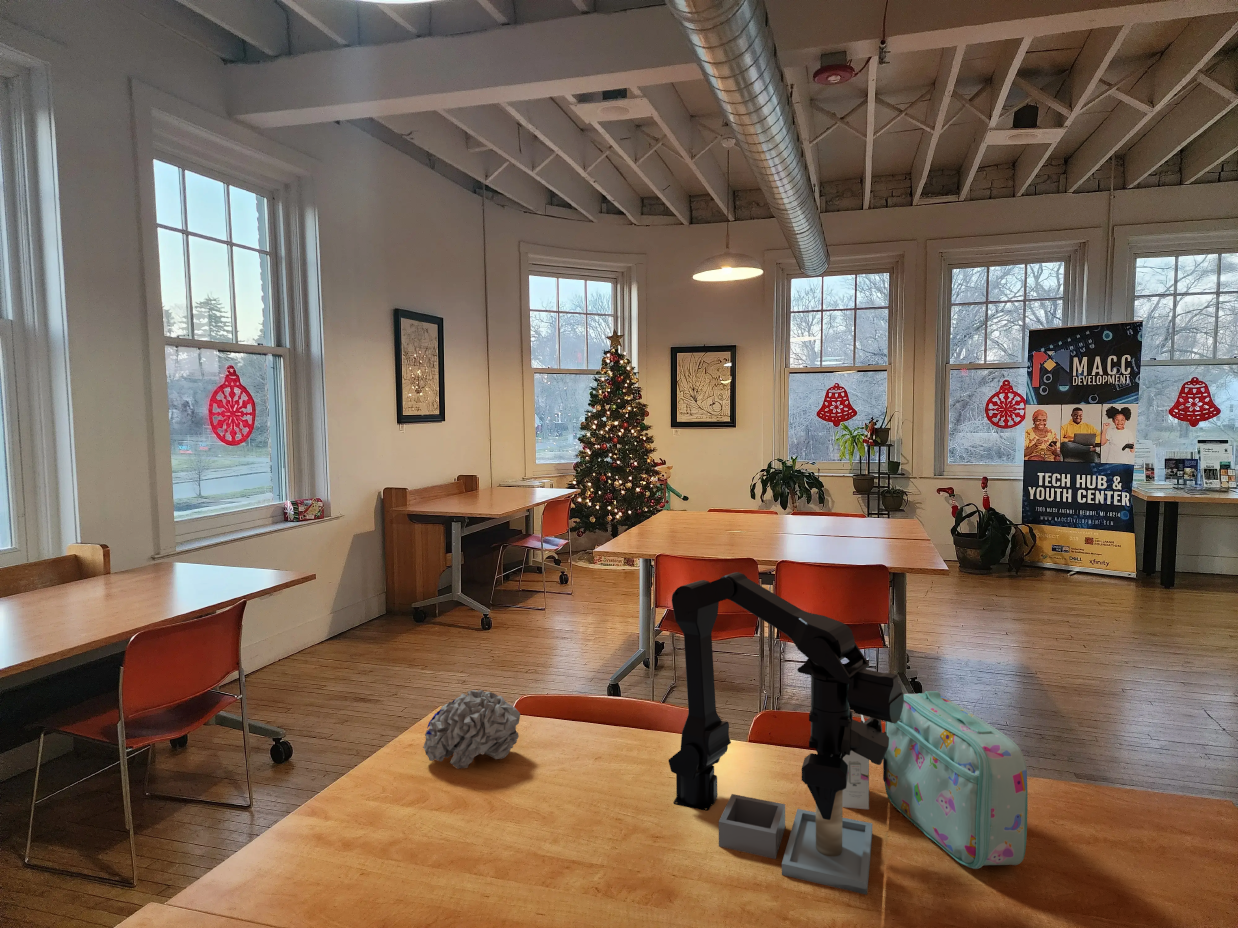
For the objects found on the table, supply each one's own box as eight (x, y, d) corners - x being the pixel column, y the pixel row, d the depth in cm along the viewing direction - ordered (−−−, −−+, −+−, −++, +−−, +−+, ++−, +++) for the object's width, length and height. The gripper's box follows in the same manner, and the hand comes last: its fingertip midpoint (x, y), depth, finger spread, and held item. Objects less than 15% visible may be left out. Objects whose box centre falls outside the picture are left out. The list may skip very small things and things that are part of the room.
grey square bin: (718, 848, 111) (718, 821, 111) (731, 819, 119) (731, 793, 119) (775, 861, 107) (775, 833, 107) (785, 830, 116) (785, 804, 115)
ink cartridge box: (834, 785, 130) (835, 708, 129) (862, 787, 129) (863, 709, 128) (840, 809, 122) (840, 727, 121) (869, 812, 121) (870, 729, 120)
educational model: (452, 771, 149) (419, 709, 149) (535, 727, 150) (502, 666, 149) (438, 804, 135) (402, 736, 135) (529, 755, 136) (493, 687, 135)
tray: (781, 877, 104) (781, 863, 104) (797, 821, 118) (797, 808, 118) (867, 897, 99) (867, 882, 99) (872, 836, 114) (872, 823, 114)
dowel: (814, 852, 108) (814, 790, 107) (817, 838, 111) (817, 777, 111) (841, 858, 106) (841, 794, 106) (843, 844, 110) (843, 782, 109)
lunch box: (871, 793, 127) (872, 678, 126) (921, 786, 129) (922, 673, 128) (974, 887, 101) (976, 743, 100) (1035, 877, 103) (1037, 736, 102)
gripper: (883, 738, 96) (883, 848, 96) (887, 690, 113) (886, 784, 114) (801, 726, 100) (801, 831, 101) (816, 681, 117) (816, 772, 118)
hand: (829, 803), depth 108 cm, fingers open, 9 cm apart
